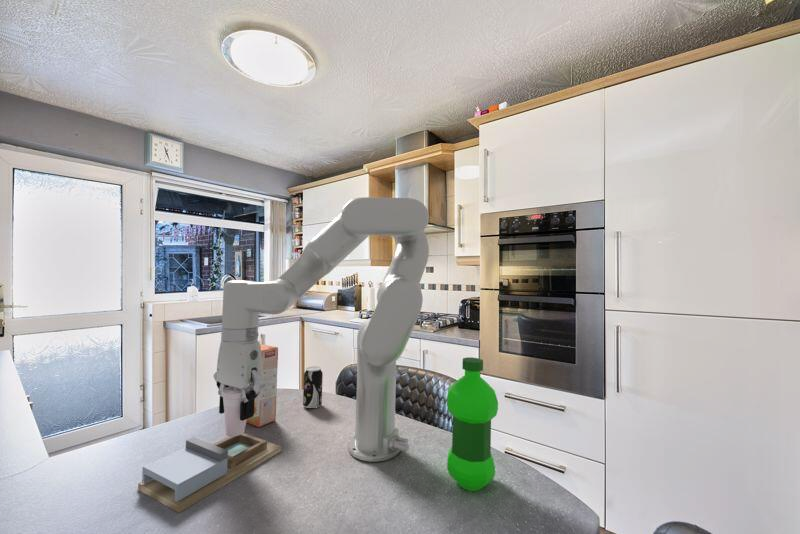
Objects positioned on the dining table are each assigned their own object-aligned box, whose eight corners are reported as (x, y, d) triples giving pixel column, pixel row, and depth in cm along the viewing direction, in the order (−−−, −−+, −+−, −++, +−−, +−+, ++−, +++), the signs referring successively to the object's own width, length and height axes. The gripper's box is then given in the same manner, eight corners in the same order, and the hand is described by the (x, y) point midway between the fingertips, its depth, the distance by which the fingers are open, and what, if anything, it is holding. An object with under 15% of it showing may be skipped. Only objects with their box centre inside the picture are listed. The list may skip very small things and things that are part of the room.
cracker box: (277, 420, 94) (279, 346, 95) (258, 428, 89) (260, 350, 90) (247, 409, 102) (249, 340, 102) (228, 415, 96) (230, 343, 97)
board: (280, 451, 78) (281, 438, 78) (178, 512, 58) (179, 495, 58) (242, 437, 84) (243, 425, 84) (138, 489, 63) (138, 473, 63)
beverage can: (319, 410, 102) (320, 371, 102) (300, 410, 102) (301, 370, 102) (323, 403, 108) (324, 365, 108) (305, 402, 108) (306, 365, 108)
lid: (227, 473, 67) (227, 450, 67) (177, 501, 58) (178, 475, 58) (192, 458, 72) (193, 437, 72) (142, 482, 63) (143, 458, 63)
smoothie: (212, 437, 72) (215, 372, 73) (232, 424, 79) (235, 365, 79) (238, 441, 71) (241, 375, 71) (257, 428, 77) (259, 367, 78)
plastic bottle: (465, 505, 61) (468, 369, 62) (435, 474, 71) (438, 356, 71) (507, 491, 65) (509, 364, 66) (473, 463, 75) (476, 352, 76)
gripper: (280, 336, 75) (277, 417, 74) (229, 328, 83) (226, 401, 82) (252, 342, 68) (248, 430, 68) (199, 333, 76) (196, 412, 75)
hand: (236, 414), depth 75 cm, fingers closed on smoothie, 6 cm apart
